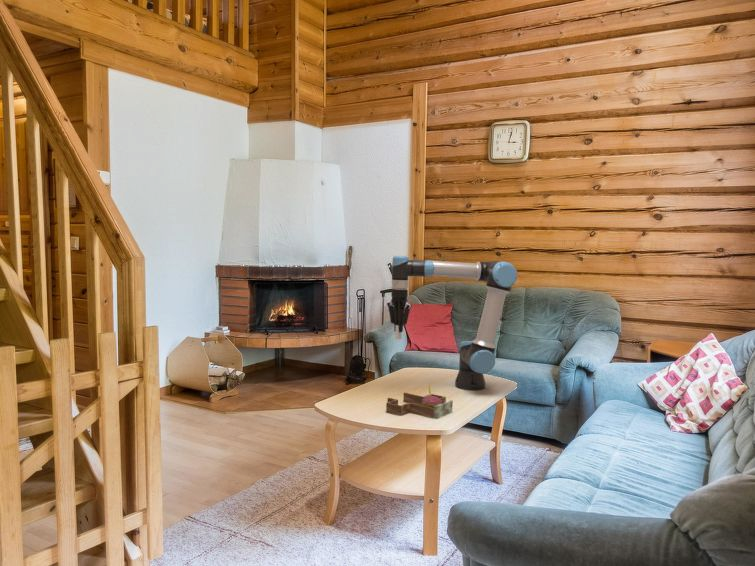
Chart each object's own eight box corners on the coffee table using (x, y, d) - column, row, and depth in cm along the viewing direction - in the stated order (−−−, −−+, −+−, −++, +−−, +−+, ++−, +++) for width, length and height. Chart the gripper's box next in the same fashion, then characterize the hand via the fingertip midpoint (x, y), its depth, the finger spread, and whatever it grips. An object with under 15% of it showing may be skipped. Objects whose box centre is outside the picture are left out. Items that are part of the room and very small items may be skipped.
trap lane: (412, 398, 275) (413, 387, 275) (460, 409, 260) (460, 397, 260) (378, 410, 255) (378, 398, 255) (426, 422, 239) (427, 410, 239)
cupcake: (417, 411, 254) (418, 384, 253) (430, 408, 260) (431, 381, 259) (432, 416, 248) (433, 388, 247) (445, 413, 253) (446, 385, 252)
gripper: (383, 288, 280) (382, 338, 281) (406, 290, 272) (404, 341, 273) (393, 287, 286) (391, 336, 287) (415, 289, 277) (414, 339, 279)
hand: (398, 338), depth 280 cm, fingers closed
